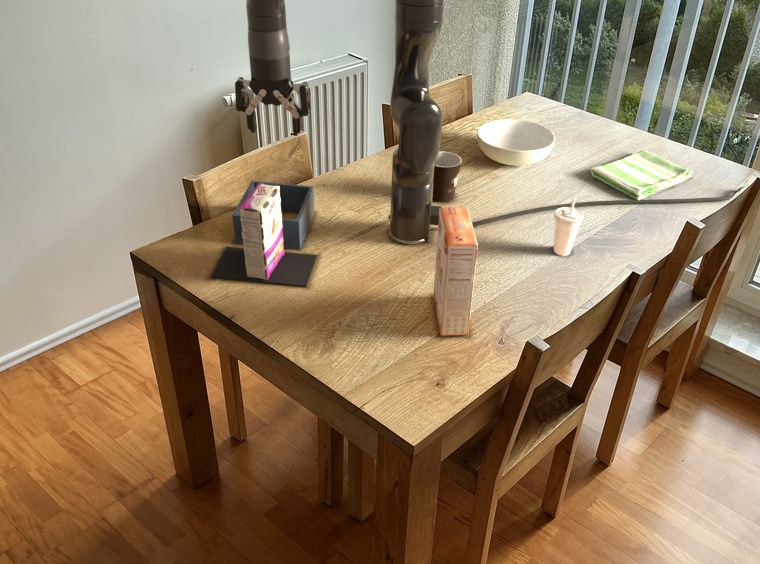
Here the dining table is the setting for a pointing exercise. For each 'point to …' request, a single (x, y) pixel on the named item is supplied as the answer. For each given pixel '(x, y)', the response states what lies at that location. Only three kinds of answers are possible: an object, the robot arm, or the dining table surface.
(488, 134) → the serving bowl
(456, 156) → the coffee mug
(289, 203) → the open storage bin
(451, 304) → the cracker box
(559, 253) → the smoothie
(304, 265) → the rubber mat
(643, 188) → the dish towel
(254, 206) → the candy bar box
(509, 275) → the dining table surface
